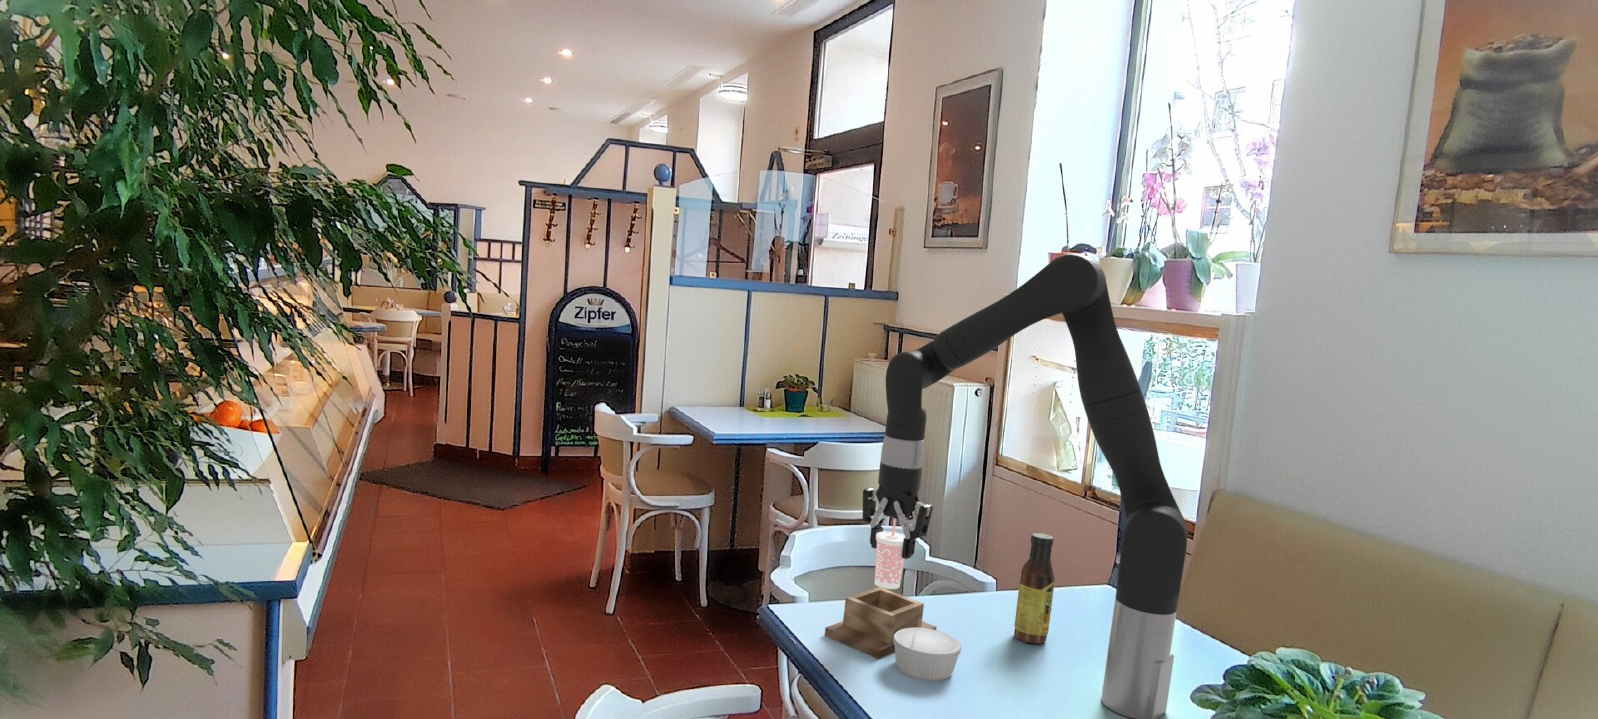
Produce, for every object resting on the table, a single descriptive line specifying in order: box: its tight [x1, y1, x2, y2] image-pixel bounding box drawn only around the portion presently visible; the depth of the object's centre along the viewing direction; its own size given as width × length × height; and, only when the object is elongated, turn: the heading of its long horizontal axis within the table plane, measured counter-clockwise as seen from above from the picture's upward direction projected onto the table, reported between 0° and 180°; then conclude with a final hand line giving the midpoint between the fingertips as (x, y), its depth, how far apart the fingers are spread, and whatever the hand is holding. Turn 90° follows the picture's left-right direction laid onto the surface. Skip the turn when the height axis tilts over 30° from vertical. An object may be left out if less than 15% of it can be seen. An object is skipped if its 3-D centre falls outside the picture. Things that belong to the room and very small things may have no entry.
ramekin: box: [893, 628, 962, 682], centre depth 153 cm, size 11×11×5 cm
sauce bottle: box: [1013, 532, 1056, 645], centre depth 171 cm, size 7×6×20 cm
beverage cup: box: [874, 517, 906, 590], centre depth 164 cm, size 6×6×14 cm
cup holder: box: [824, 586, 938, 660], centre depth 166 cm, size 12×18×6 cm, turn 139°
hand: (890, 552), depth 165 cm, fingers closed on beverage cup, 6 cm apart
